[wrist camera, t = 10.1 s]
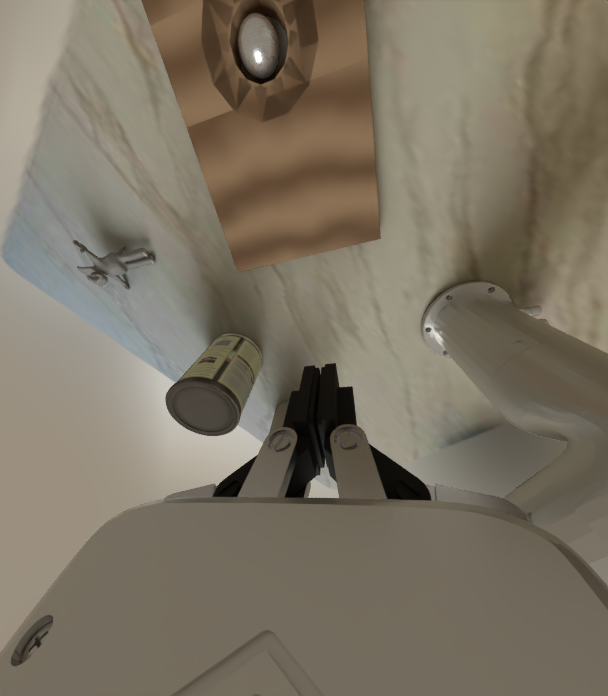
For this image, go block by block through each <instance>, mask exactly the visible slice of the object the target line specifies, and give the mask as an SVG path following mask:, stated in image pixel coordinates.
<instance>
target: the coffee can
mask: <svg viewBox="0 0 608 696" xmlns="http://www.w3.org/2000/svg"><path fill="white" fill-rule="evenodd" d="M262 364H263V357H262V353H261V351H260V349H259V348H258V346H257V345H256V344H255V343H254V342H253V341H252V340H250V339H249V338H247V337H245V336H243V335H240V334H235V333H228V334H223V335H221V336H219V337H217V338H216V339H215V340H214V341H213V342H212V344H211V345H210V346H209V347H208V348H207V349H206V351H205V352H204V353H203V354H202V355H201V356H200V357H199V358H198V359H197V361H196V362H195V363H194V364H193V365H192V366H191V367H190V368H189V369H188V371H187V372H186V373H185V374H184V375H183V376H182V377H181V378H180V380H179V381H178V382H177V383H175V384H174V385H173V386H172V387H171V388H170V389H169V391H168V392H167V394H166V405H167V409H168V411H169V413H170V414H171V416H172V417H173V418H174V419H175V420H176V421H177V422H178V423H179V424H180V425H182V426H183V427H185V428H186V429H188V430H190V431H193V432H195V433H198V434H202V435H207V436H219V435H224V434H227V433H229V432H231V431H232V430H233V429H235V428H236V426H237V425H238V423H239V420H240V416H241V413H242V411H243V409H244V406H245V404H246V402H247V399H248V397H249V395H250V392H251V390H252V388H253V385H254V383H255V380H256V378H257V376H258V373H259V371H260V370H261V368H262Z"/></svg>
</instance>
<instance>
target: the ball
mask: <svg viewBox="0 0 608 696" xmlns="http://www.w3.org/2000/svg"><path fill="white" fill-rule="evenodd" d="M238 46H239V52H240V56H241V59H242V62H243V64H244V66H245V67H246V69H247V70H248V72H249V73H250V74H251V75H253V76H254V77H256V78H258V79H265V78H268V77H269V76H271V75H272V74H273V72H274V71H275V69H276V67H277V64H278V60H279V41H278V37H277V33H276V31H275V28H274V26H273V25H272V23H271V22H270V20H269V19H268V18H267V17H265V16H264V15H262V14H260V13H252V14H249V15H248V16H247V17H246V18H245V19H244V20H243V22H242V24H241V27H240V30H239V36H238Z"/></svg>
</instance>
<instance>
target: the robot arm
mask: <svg viewBox="0 0 608 696" xmlns="http://www.w3.org/2000/svg"><path fill="white" fill-rule="evenodd" d="M447 296H448V297H447ZM541 313H542V308H541V307H540V306H531V307H526V308H521V307H519V306H517V305H515V304H513V303H512V299H511V298H510V296H509V294H508V293H507V292H506V291H505V290H504V289H502V288H501V287H499V286H497V285H495V284H492V283H489V282H484V281H471V282H465V283H462V284H459V285H456V286H454V287H452V288H450V289H448V290H446V291H445V292H443V293H442V294H441V295H439V296H438V297H437V298H436V299H435V300H434V301H433V302H432V303H431V304H430V306H429V307H428V309H427V310H426V312H425V314H424V316H423V320H422V324H421V332H422V337H423V339H424V342H425V343H426V344H427V346H428V347H429V348H430V349H431V350H432V351H433V352H435V353H436V354H438V355H440V356H443V357H448V358H452V359H453V360H454V361H455V362H456V363H457V364H458V366H459V367H460V368H461V369H462V370H463V371H464V372H465V374H466V375H467V376H468V377H469V378H470V379H471V380H472V382H473V383H474V384H475V385H476V386H477V387H478V388H479V390H480V391H481V392H482V393H483V394H484V395H485V396H486V398H487V399H488V400H489V401H490V402H491V403H492V404H493V406H494V407H495V408H496V409H497V410H498V411H499V412H500V414H501V415H502V416H503V417H505V418H506V419H507V420H508V421H509V422H511V423H512V424H513V425H515V426H517V427H518V428H520V429H522V430H524V431H527V432H529V433H532V434H535V435H538V436H542V437H546V438H551V439H556V440H560V441H566V442H568V444H567V447H566V449H565V450H564V451H563V452H562V453H561V454H560V455H559V456H557V457H556V458H555V459H553V460H552V461H551V463H550V464H548V465H547V466H546V467H544V468H543V469H542V470H540V471H539V472H537V473H536V474H535V475H533V476H532V477H530V478H529V479H527V480H526V481H525V482H523V483H522V484H521V485H519V486H518V487H516V488H515V489H514V490H513V491H512V492H511V493H509V494H508V495H506V496H505V497H504V498H503V499H502V498H499V497H495V496H491V495H486V494H481V493H477V492H472V491H467V490H462V489H458V488H453V487H448V486H443V485H438V484H435V487H434V486H429V485H425V484H424V483H423V482H422V481H421V480H420V479H418V478H417V477H415V476H414V475H413V474H411V473H410V472H408V471H407V470H406V469H404V468H403V467H401V466H400V465H398V464H397V463H396V462H394V461H393V460H391V459H390V458H388V457H387V456H386V455H384V454H383V453H381V452H380V451H378V450H377V449H376V448H374V447H373V446H371V445H370V444H369V443H368V440H367V437H366V434H365V433H364V431H363V430H362V429H361V428H360V427H358V426H357V423H356V413H355V404H354V396H353V388H352V387H339V382H338V375H337V369H336V364H335V363H334V364H325V367H322V368H321V375H320V370H319V368H315V365H314V366H305V367H304V371H303V375H302V380H301V385H300V390H299V391H292V393H291V396H290V400H289V404H288V407H287V411H286V415H285V419H284V423H283V427H281V428H278V429H275V430H274V431H272V432H271V433H270V434H269V435H268V436H267V437H266V439H265V441H264V443H263V445H262V447H261V449H260V451H259V453H258V455H257V456H255V457H254V458H253V459H251V460H250V461H249V462H247V463H246V464H244V465H243V466H242V467H240V468H239V469H238V470H236V471H235V472H234V473H232V474H231V475H230V476H228V477H227V478H226V479H224V480H223V481H222V482H221V483H220V484H219V485H218V486H216V485H215V484H211V485H207V486H203V487H199V488H194V489H190V490H186V491H182V492H178V493H174V494H171V495H169V496H167V497H166V498H164V499H163V500H156V501H152V502H148V503H144V504H141V505H139V506H136V507H134V508H131V509H128V510H126V511H124V512H122V513H120V514H118V515H117V516H115V517H113V518H112V519H110V520H109V521H108V522H106V523H105V524H104V525H103V526H102V527H101V528H100V529H99V530H98V531H97V532H96V533H95V534H94V535H93V536H92V537H91V538H90V539H89V540H88V541H87V542H86V544H85V545H84V546H83V547H82V548H81V549H80V551H79V552H78V553H77V554H76V555H75V557H74V558H73V559H72V560H71V562H70V563H69V564H68V565H67V566H66V568H65V569H64V570H63V571H62V573H61V574H60V575H59V576H58V578H57V579H56V580H55V582H54V583H53V584H52V585H51V587H50V588H49V589H48V591H47V592H46V593H45V595H44V596H43V597H42V598H41V600H40V601H39V602H38V604H37V605H36V606H35V607H34V609H33V610H32V611H31V613H30V614H29V615H28V616H27V618H26V619H25V620H24V622H23V623H22V625H21V626H20V627H19V628H18V630H17V631H16V633H15V634H14V635H13V637H12V638H11V639H10V640H9V642H8V643H7V645H6V646H5V647H4V648H3V650H2V651H1V652H0V696H608V353H606V352H604V351H602V350H599V349H597V348H595V347H593V346H591V345H589V344H587V343H585V342H583V341H581V340H579V339H577V338H575V337H573V336H571V335H569V334H567V333H565V332H562V331H560V330H558V329H556V328H554V327H552V326H550V325H549V323H548V321H547V320H546V319H536V318H534V317H532V316H537V315H540V314H541ZM426 328H427V329H426ZM325 459H326V464H327V467H328V468H329V473H330V476H331V477H332V478H333V479H334V480H335V481H336V482H337V487H338V493H339V498H308V496H309V492H310V487H311V483H310V481H311V480H312V479H313V478H314V477H315V476H316V475H320V468H324V465H325Z"/></svg>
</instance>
